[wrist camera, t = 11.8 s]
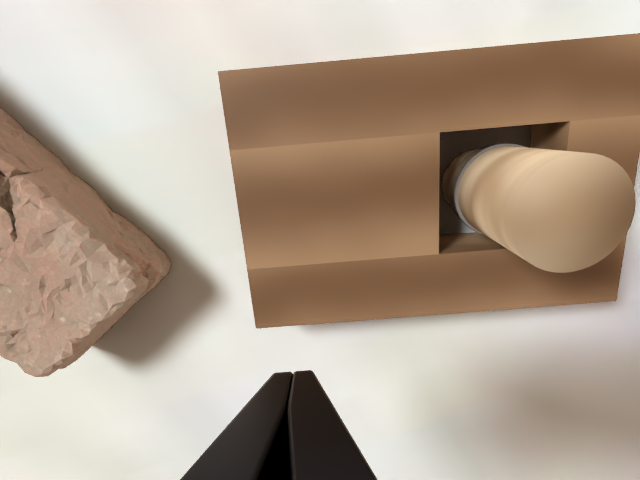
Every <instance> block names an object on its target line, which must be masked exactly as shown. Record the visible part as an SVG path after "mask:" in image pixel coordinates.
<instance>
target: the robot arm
mask: <svg viewBox="0 0 640 480" xmlns="http://www.w3.org/2000/svg"><path fill="white" fill-rule="evenodd" d="M180 480H377V478H376V476H375V475H374V473H373V471H372V470H371V468H370V466H369V465H368V463H367V461H366V460H365V458H364V456H363V455H362V453H361V451H360V450H359V448H358V446H357V445H356V443H355V441H354V440H353V438H352V436H351V435H350V433H349V431H348V429H347V428H346V426H345V424H344V423H343V421H342V419H341V418H340V416H339V414H338V413H337V411H336V409H335V408H334V406H333V404H332V403H331V401H330V399H329V398H328V396H327V394H326V393H325V391H324V389H323V388H322V386H321V384H320V383H319V381H318V379H317V378H316V376H315V374H314V373H313V371H311V370H308V371H296V372H294V374H292V373H291V372H281V373H274V374H273V375H272V376H271V377H270V378H269V379H268V380H267V382H266V383H265V384H264V385H263V386H262V387H261V388H260V390H259V391H258V392H257V393H256V394H255V395H254V396H253V397H252V399H251V400H250V401H249V402H248V403H247V404H246V405H245V407H244V408H243V409H242V410H241V411H240V412H239V413H238V415H237V416H236V417H235V418H234V419H233V420H232V421H231V423H230V424H229V425H228V426H227V427H226V428H225V429H224V430H223V432H222V433H221V434H220V435H219V436H218V437H217V438H216V440H215V441H214V442H213V443H212V444H211V445H210V446H209V448H208V449H207V450H206V451H205V452H204V453H203V454H202V456H201V457H200V458H199V459H198V460H197V461H196V462H195V463H194V465H193V466H192V467H191V468H190V469H189V470H188V471H187V473H186V474H185V475H184V476H183V477H182V478H181V479H180Z"/></svg>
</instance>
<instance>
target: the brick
mask: <svg viewBox="0 0 640 480" xmlns="http://www.w3.org/2000/svg"><path fill="white" fill-rule="evenodd" d="M170 267H171V261H170V259H169V258H168V257H167V256H166V254H165V252H164V251H162V250H161V249H159V248H158V247H157V246H156V245H155V244H154V243H153V242H152V240H151V239H150V238H149V237H148V236H147V235H146V234H145V233H143V232H142V231H141V230H140V229H139V228H137V227H136V226H135V225H134V224H132V223H131V222H130V221H129V220H127V219H126V218H124V217H123V216H121V215H119V214H117V213H115V212H112V208H111V207H109V206H108V205H107V204H106V202H105V201H104V200H103V199H102V198H101V197H100V196H99V194H98V193H97V192H96V191H95V190H94V189H93V188H92V187H91V186H89V185H88V184H87V183H85V182H83V181H82V179H80V178H79V177H77V176H76V175H74V174H73V173H71V172H70V171H69V170H68V169H67V168H66V167H65V165H64V164H63V163H62V161H61V160H60V159H59V158H58V157H57V156H55V155H54V154H53V153H52V152H50V151H49V150H48V149H47V148H45V147H44V146H43V145H42V144H41V143H40V142H39V141H38V140H37V139H36V138H34V137H33V136H31V135H30V134H28V133H26V132H25V131H24V128H23V127H22V126H21V125H20V124H19V123H18V122H17V121H16V120H14V119H13V118H12V117H11V116H10V115H9V114H8V113H6V112H5V111H4V110H3V109H2V108H0V356H2V357H3V358H5V359H8V360H10V361H13V362H16V363H17V364H18V365H19V366H20V367H21V369H22V370H23V371H24V372H25V373H27V374H30V375H32V376H35V377H43V376H49V375H50V374H52V373H53V372H55V371H56V370H57V369H61V368H65V367H67V366H68V365H70V364H71V363H73V362H75V361H76V360H77V359H78V358H80V357H81V356H82V355H83V354H84V353H85V352H86V351H87V350H88V349H89V348H90V347H91V346H92V345H93V344H94V343H95V342H96V341H97V340H98V339H100V338H101V337H102V335H103V334H105V333H106V332H107V331H108V330H109V329H110V328H111V327H112V325H114V324H115V323H116V322H117V321H118V320H119V319H120V318H121V317H122V316H123V315H124V314H125V313H126V312H127V311H128V310H129V309H130V308H131V307H132V306H133V305H134V304H135V303H136V302H137V301H138V300H139V299H140V298H141V297H142V296H143V295H145V294H146V293H147V292H148V291H150V290H152V289H153V288H155V287H156V286H157V285H158V284H159V282H160V281H161V280H162V279H163V278H164V277H165V276H166V275H167V274H168V272H169V270H170Z"/></svg>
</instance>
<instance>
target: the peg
mask: <svg viewBox="0 0 640 480" xmlns="http://www.w3.org/2000/svg"><path fill="white" fill-rule="evenodd" d="M442 188H443V194H444V196H445V199H446V200H447V202H448V203H449V204H450V205H451V206H452V207H453V209H454V211H455V213H456V214H457V215H458V217H459V218H460V219H461V220H462V221H463V222H464V223H465V224H466V225H467V226H468V227H469V228H471V229H472V230H474V231H476V232H478V233H480V234H483V235H486V236H488V237H489V238H491V239H492V240H494V241H496V242H497V243H499V244H500V245H502V246H503V247H505V248H507V249H508V250H510V251H511V252H513V253H515V254H516V255H518V256H519V257H521V258H522V259H524V260H526V261H527V262H529V263H530V264H532V265H534V266H535V267H537V268H540V269H542V270H545V271H549V272H556V273H567V272H574V271H578V270H582V269H585V268H587V267H590V266H592V265H594V264H596V263H598V262H599V261H601V260H602V259H604V258H605V257H606V256H608V255H609V254H610V253H611V252H612V251H613V250H614V249H615V248H616V247H617V246H618V245H619V244H620V242H621V241H622V240H623V238H624V237H625V235H626V233H627V231H628V229H629V227H630V225H631V222H632V220H633V216H634V212H635V192H634V187H633V184H632V182H631V179H630V178H629V176H628V174H627V173H626V171H625V170H624V169H623V168H622V167H621V166H620V165H619V164H618V163H616V162H615V161H613V160H612V159H610V158H608V157H605V156H603V155H599V154H594V153H584V152H573V151H561V150H550V149H538V148H527V147H524V146H521V145H518V144H496V145H491V146H486V147H482V148H480V149H477V150H470V151H467V152H464V153H462V154H461V155H459V156H458V157H456V158H455V159H454V160H453V161H452V162H451V163H450V164H449V166H448V167H447V169H446V171H445V174H444V177H443V183H442Z"/></svg>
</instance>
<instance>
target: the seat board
mask: <svg viewBox="0 0 640 480" xmlns="http://www.w3.org/2000/svg"><path fill="white" fill-rule="evenodd" d="M218 75H219V82H220V89H221V95H222V102H223V109H224V116H225V122H226V129H227V136H228V143H229V149H230V156H231V163H232V170H233V176H234V183H235V190H236V197H237V203H238V210H239V217H240V224H241V230H242V237H243V244H244V251H245V257H246V264H247V271H248V278H249V284H250V291H251V298H252V305H253V311H254V318H255V325H256V328H268V327H281V326H294V325H307V324H320V323H334V322H347V321H360V320H373V319H386V318H399V317H412V316H425V315H438V314H451V313H464V312H477V311H490V310H504V309H517V308H530V307H543V306H556V305H569V304H582V303H595V302H608V301H616V299H617V292H618V286H619V279H620V273H621V267H622V260H623V254H624V247H625V241H626V235H627V233H626V235H625V237H624V238H623V240H622V241H621V242H620V244H619V245H618V246H617V247H616V248H615V249H614V250H613V251H612V252H611V253H610V254H609V255H608V256H606V257H605V258H604V259H602V260H601V261H599V262H598V263H596V264H594V265H592V266H590V267H587V268H585V269H582V270H578V271H574V272H567V273H556V272H549V271H545V270H542V269H540V268H537V267H535V266H534V265H532V264H530V263H529V262H527V261H526V260H524V259H522V258H521V257H519V256H518V255H516V254H515V253H513V252H511V251H510V250H508V249H507V248H505V247H503V246H502V245H500V244H499V243H497V242H496V241H494V240H492V239H491V238H489V237H488V236H486V235H483V234H480V233H478V232H475V233H463V234H450V235H439V170H440V132H450V131H461V130H473V129H484V128H496V127H508V126H519V125H531V124H532V128H531V141H530V148H538V149H550V150H561V151H573V152H584V153H594V154H599V155H603V156H605V157H608V158H610V159H612V160H613V161H615V162H616V163H618V164H619V165H620V166H621V167H622V168H623V169H624V170H625V171H626V173H627V174H628V176H629V178H630V179H631V182H632V184H633V187H634V183H635V177H636V171H637V164H638V158H639V151H640V33H638V34H627V35H616V36H605V37H594V38H583V39H572V40H561V41H550V42H539V43H528V44H516V45H505V46H494V47H483V48H472V49H461V50H450V51H439V52H428V53H417V54H406V55H395V56H384V57H373V58H362V59H351V60H340V61H328V62H317V63H306V64H295V65H284V66H273V67H262V68H251V69H240V70H229V71H218Z"/></svg>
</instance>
